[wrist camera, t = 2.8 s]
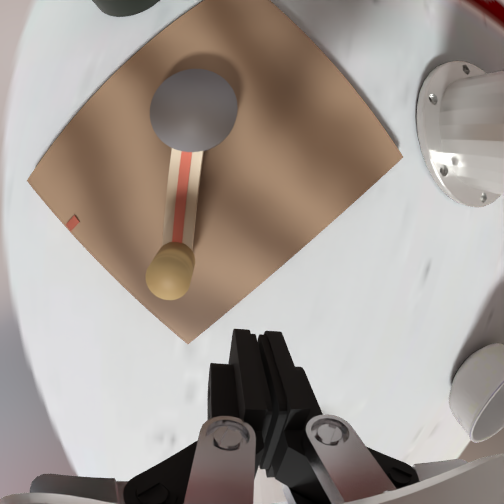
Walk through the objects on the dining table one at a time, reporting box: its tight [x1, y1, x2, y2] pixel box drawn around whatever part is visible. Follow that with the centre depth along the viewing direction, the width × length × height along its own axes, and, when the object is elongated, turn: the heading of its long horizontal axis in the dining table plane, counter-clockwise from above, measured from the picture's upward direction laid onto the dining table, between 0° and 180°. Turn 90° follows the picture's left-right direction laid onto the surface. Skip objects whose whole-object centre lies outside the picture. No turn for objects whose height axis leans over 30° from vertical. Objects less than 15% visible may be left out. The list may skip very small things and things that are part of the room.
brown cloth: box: [27, 0, 403, 344], centre depth 18 cm, size 20×17×1 cm
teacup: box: [449, 343, 504, 442], centre depth 24 cm, size 14×11×8 cm
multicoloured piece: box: [145, 69, 238, 300], centre depth 16 cm, size 13×5×4 cm, turn 172°
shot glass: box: [253, 467, 288, 504], centre depth 26 cm, size 7×7×7 cm
